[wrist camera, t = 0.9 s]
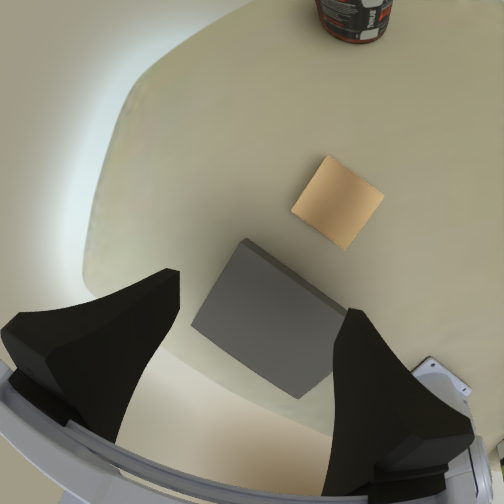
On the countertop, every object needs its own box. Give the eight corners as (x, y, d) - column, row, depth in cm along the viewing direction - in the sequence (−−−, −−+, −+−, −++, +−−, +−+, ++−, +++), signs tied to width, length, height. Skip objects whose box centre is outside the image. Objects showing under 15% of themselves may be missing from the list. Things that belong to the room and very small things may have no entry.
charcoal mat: (370, 327, 23) (370, 336, 22) (300, 390, 27) (297, 399, 26) (246, 238, 25) (240, 242, 23) (197, 318, 29) (190, 325, 28)
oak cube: (376, 191, 20) (384, 196, 16) (345, 235, 22) (345, 250, 18) (330, 158, 20) (327, 154, 16) (300, 203, 22) (290, 211, 18)
